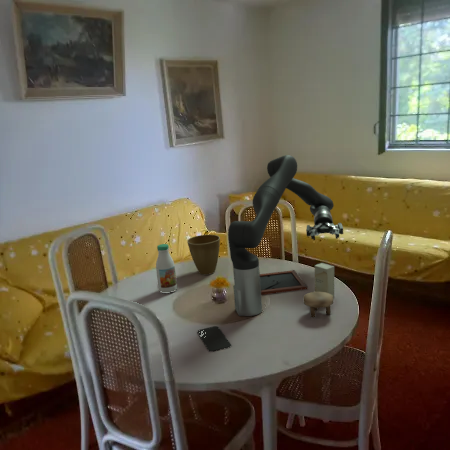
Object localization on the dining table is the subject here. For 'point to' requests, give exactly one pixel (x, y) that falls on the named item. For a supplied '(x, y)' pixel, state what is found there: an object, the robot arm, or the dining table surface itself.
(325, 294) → the stool
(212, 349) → the phone
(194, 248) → the plant pot
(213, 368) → the dining table surface
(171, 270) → the milk bottle
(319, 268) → the skincare box
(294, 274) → the picture frame
